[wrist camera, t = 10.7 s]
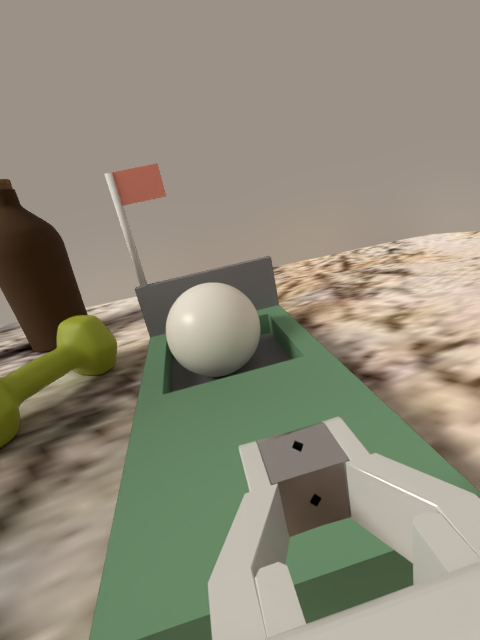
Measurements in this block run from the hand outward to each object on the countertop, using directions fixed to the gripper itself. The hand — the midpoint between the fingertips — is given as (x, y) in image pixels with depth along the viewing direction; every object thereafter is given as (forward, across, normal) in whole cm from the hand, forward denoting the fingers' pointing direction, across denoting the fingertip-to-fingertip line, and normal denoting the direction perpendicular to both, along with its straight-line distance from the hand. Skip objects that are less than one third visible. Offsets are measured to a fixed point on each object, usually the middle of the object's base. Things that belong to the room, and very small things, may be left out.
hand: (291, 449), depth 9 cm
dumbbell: (+27, -19, -10) cm, 35 cm away
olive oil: (+49, -25, -10) cm, 56 cm away
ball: (+22, -1, -4) cm, 23 cm away
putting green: (+16, 0, -9) cm, 18 cm away
